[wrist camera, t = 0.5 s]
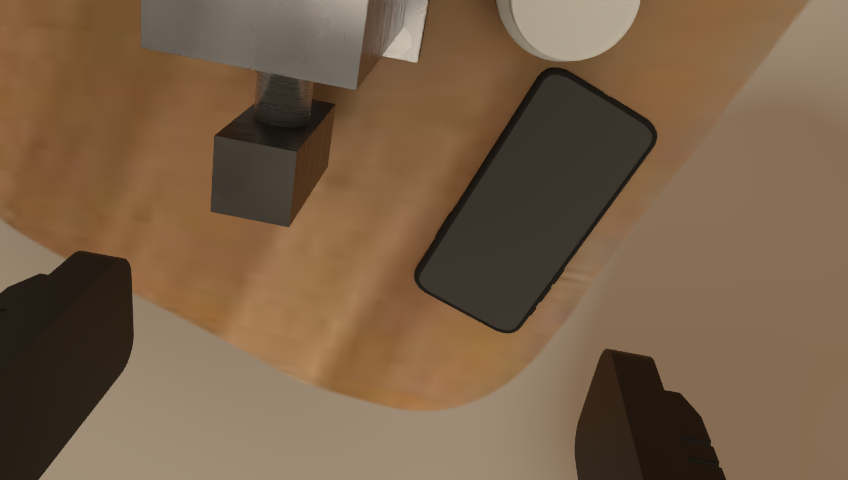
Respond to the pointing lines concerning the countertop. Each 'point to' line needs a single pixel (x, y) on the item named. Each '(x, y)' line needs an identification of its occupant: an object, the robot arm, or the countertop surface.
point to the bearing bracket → (289, 34)
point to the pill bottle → (567, 26)
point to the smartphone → (534, 200)
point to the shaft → (272, 152)
